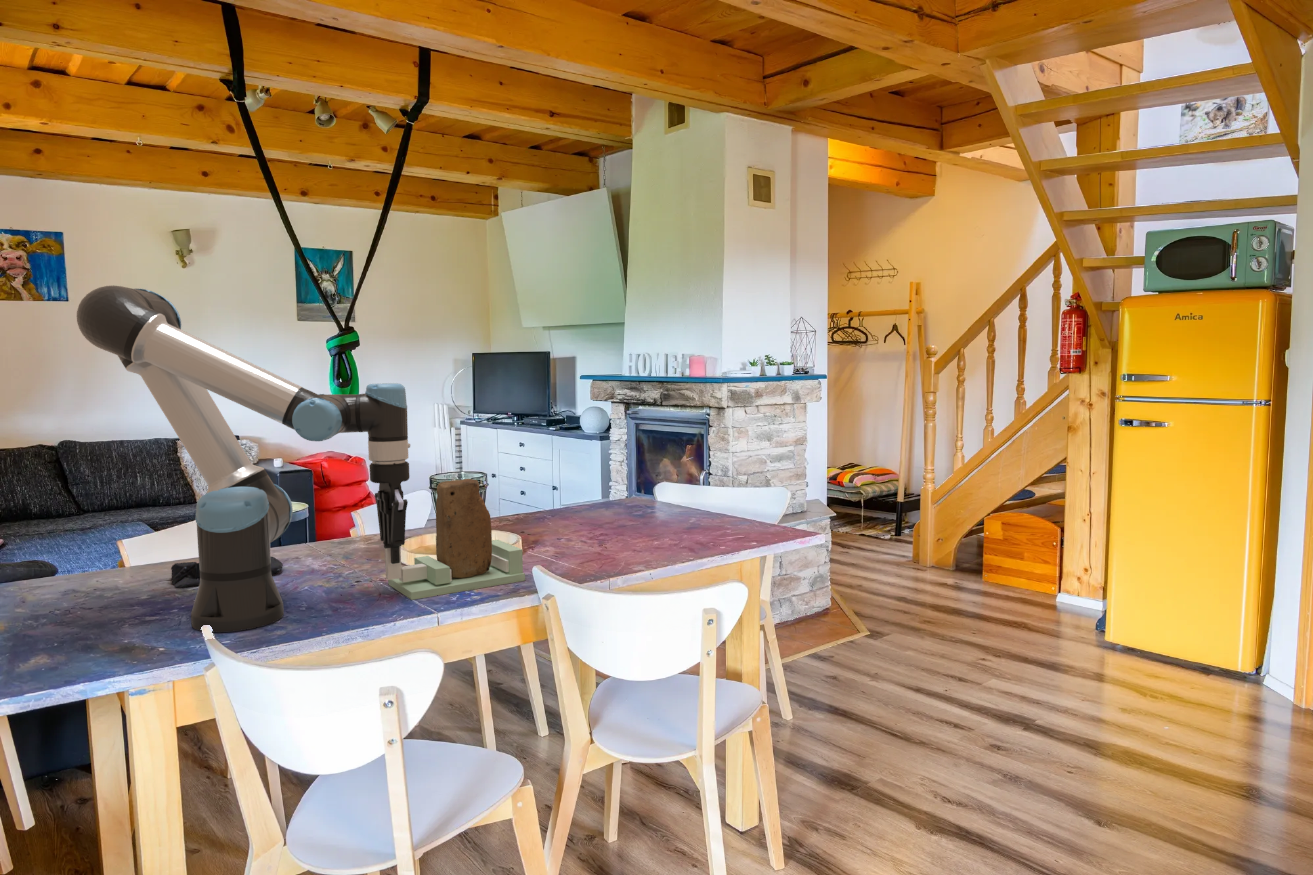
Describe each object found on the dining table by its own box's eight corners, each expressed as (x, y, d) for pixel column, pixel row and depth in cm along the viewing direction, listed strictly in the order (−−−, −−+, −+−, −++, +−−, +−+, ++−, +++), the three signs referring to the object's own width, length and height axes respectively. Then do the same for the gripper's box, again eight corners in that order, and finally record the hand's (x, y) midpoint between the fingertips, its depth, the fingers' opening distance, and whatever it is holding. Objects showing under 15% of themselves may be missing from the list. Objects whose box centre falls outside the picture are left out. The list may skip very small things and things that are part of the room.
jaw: (411, 588, 173) (410, 572, 173) (391, 576, 183) (390, 561, 182) (452, 582, 178) (452, 566, 177) (430, 570, 188) (430, 555, 187)
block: (444, 581, 180) (441, 484, 178) (434, 573, 186) (431, 479, 184) (495, 574, 185) (493, 480, 183) (484, 567, 192) (482, 476, 190)
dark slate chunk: (285, 579, 190) (284, 558, 189) (169, 592, 180) (167, 569, 180) (281, 563, 203) (280, 543, 203) (173, 574, 194) (171, 553, 193)
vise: (411, 599, 172) (410, 567, 171) (388, 584, 183) (387, 553, 183) (525, 580, 186) (524, 550, 185) (496, 567, 197) (496, 538, 197)
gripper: (419, 463, 171) (423, 582, 173) (397, 456, 182) (401, 569, 184) (380, 466, 167) (385, 588, 169) (360, 459, 178) (365, 574, 180)
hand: (393, 578), depth 177 cm, fingers closed
